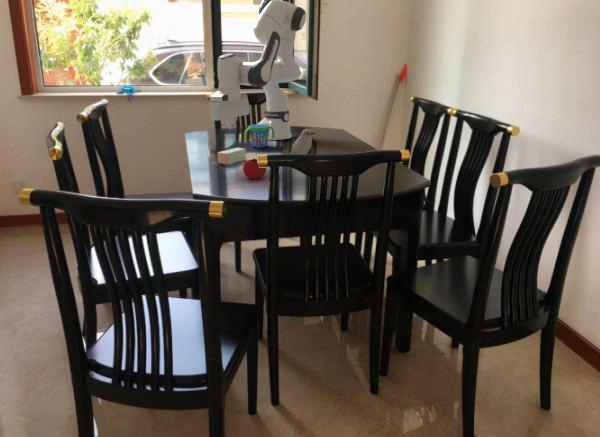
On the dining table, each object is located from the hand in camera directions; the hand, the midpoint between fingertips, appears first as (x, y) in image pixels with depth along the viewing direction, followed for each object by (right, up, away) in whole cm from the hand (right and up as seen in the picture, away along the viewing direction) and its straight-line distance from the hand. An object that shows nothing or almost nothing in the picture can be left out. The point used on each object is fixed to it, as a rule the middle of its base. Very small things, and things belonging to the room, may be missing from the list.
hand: (231, 128), depth 217 cm
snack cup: (+9, -4, +32) cm, 34 cm away
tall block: (+3, -10, +7) cm, 13 cm away
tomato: (+12, -23, -22) cm, 34 cm away
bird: (+30, -16, -2) cm, 34 cm away
